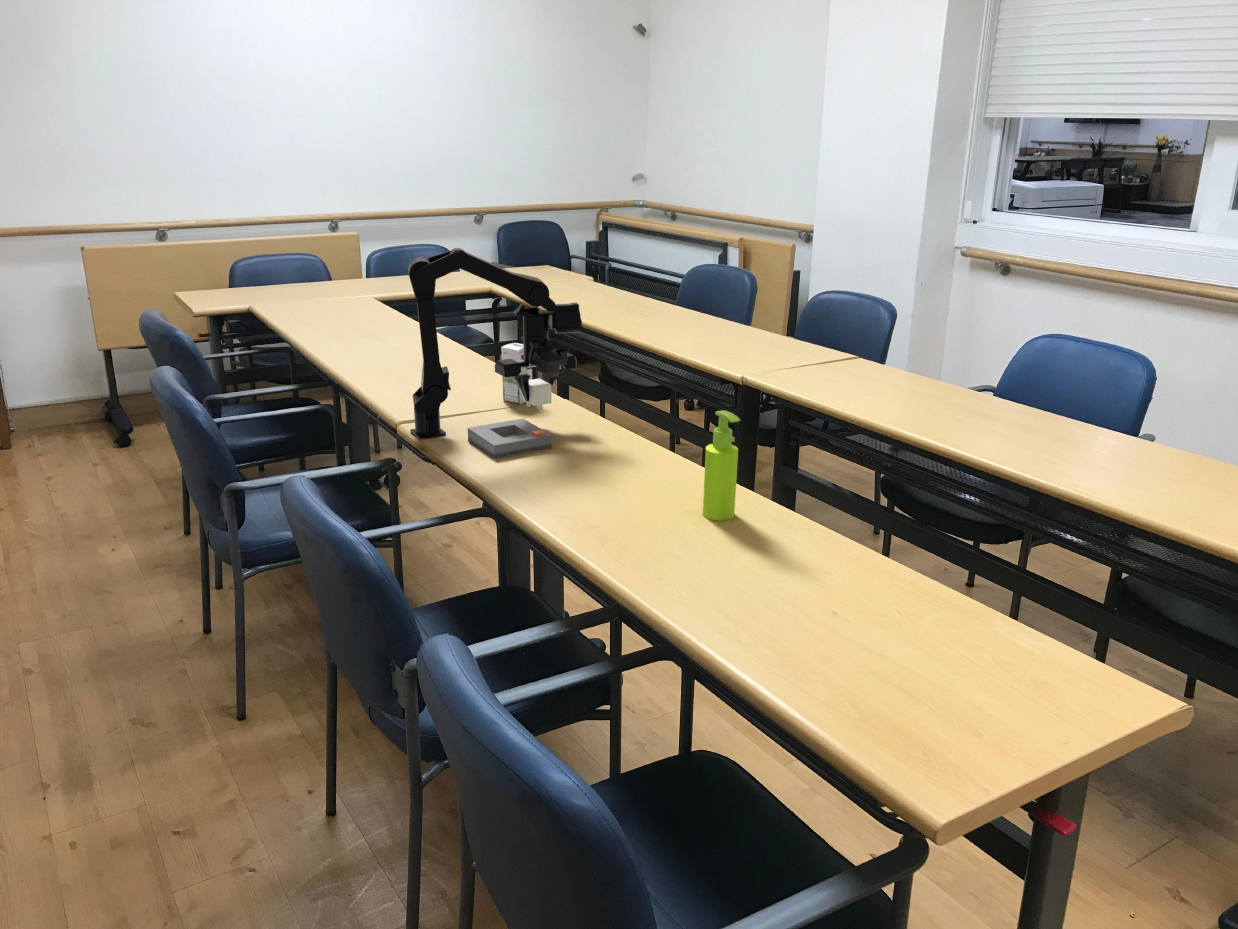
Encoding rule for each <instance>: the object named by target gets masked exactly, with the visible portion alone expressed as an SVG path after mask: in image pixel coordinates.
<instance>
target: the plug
mask: <svg viewBox="0 0 1238 929" xmlns="http://www.w3.org/2000/svg"><path fill="white" fill-rule="evenodd" d="M552 397H553V396H552V388H551V384H549V383H547V382H545V381H543V379H541V378H535V379H533V378H532V380H529V402H527V401H526V400H525V398H524V396H523V394H522V400H524V401H526V402H525V404H526V407H527V408H529V407H531V406H533V407H537V406H538V410H540V411H542V410H543V405H547V404H552V399H553V398H552Z"/></svg>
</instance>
